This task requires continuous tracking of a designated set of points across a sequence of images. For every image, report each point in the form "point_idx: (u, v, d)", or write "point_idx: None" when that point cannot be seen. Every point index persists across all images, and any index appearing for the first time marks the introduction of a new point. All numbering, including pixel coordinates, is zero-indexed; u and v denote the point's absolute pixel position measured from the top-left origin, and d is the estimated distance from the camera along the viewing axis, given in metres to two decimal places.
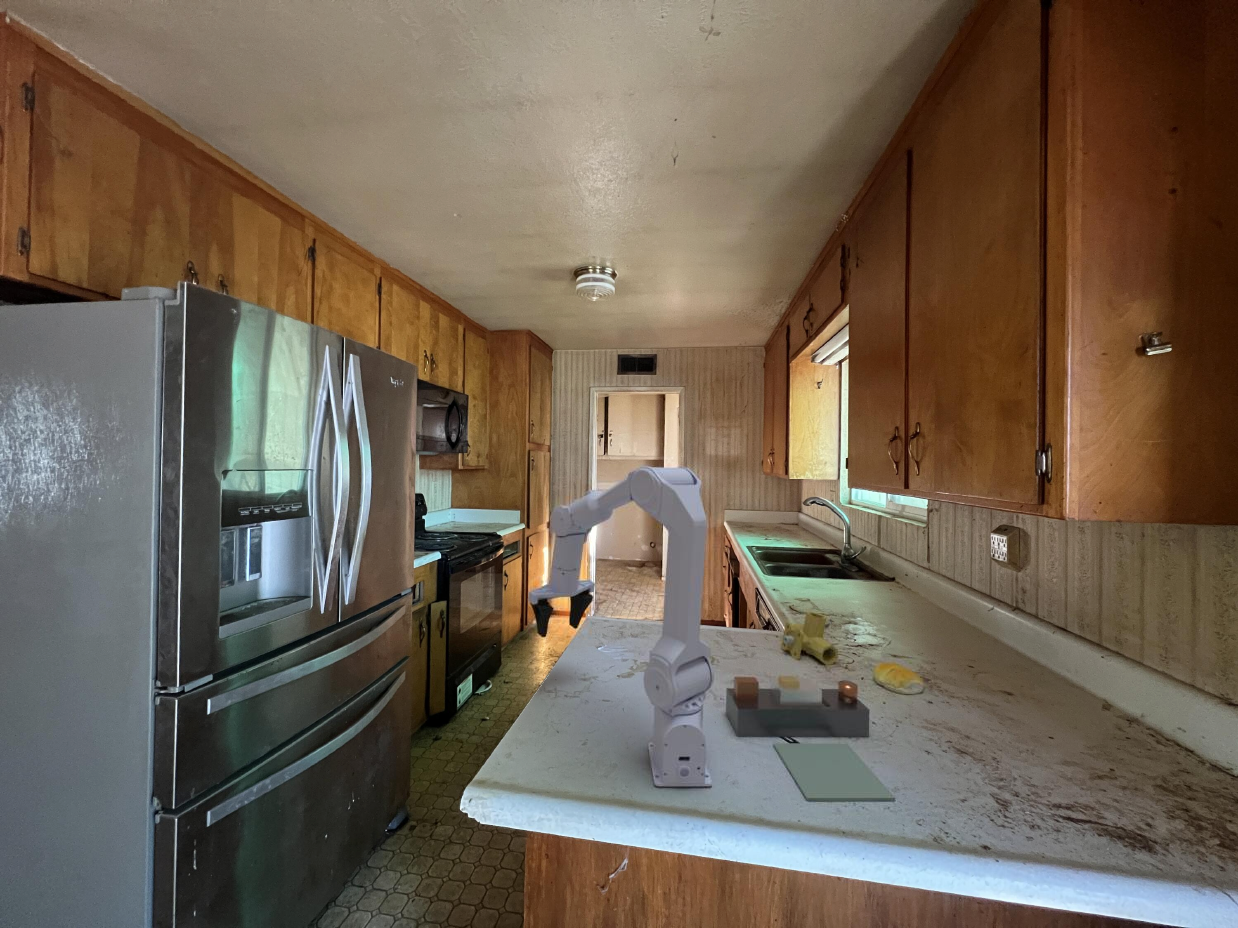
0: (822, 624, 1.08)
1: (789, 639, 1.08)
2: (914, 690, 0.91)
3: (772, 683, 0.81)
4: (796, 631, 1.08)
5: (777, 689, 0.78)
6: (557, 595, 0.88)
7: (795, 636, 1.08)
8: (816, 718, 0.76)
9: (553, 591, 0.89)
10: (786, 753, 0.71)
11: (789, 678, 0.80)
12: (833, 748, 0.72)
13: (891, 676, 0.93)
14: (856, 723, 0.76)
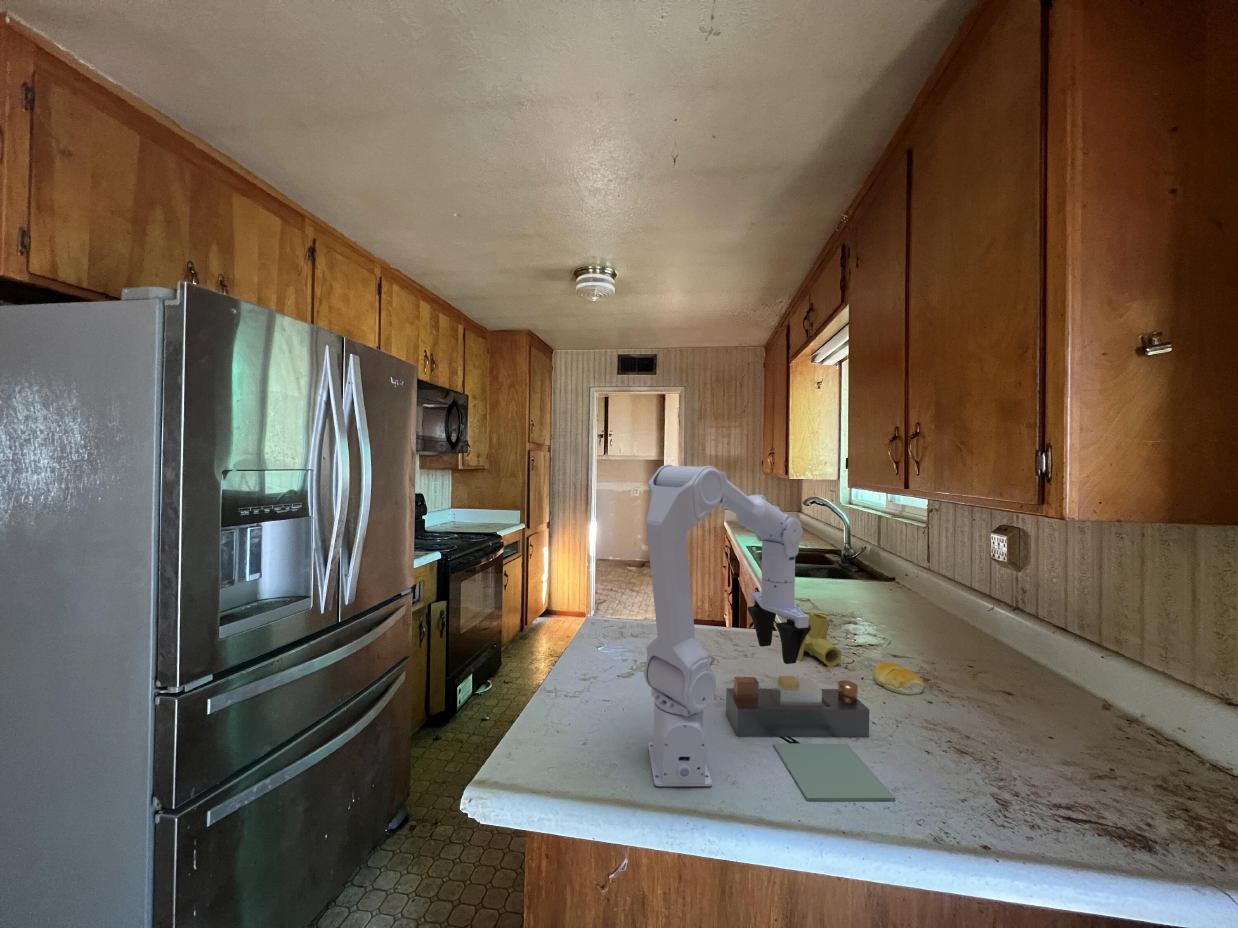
0: (825, 625, 1.08)
1: None
2: (914, 690, 0.91)
3: (772, 683, 0.81)
4: None
5: (777, 689, 0.78)
6: (758, 601, 0.86)
7: None
8: (816, 718, 0.76)
9: None
10: (786, 753, 0.71)
11: (789, 678, 0.80)
12: (833, 748, 0.72)
13: (891, 676, 0.93)
14: (856, 723, 0.76)
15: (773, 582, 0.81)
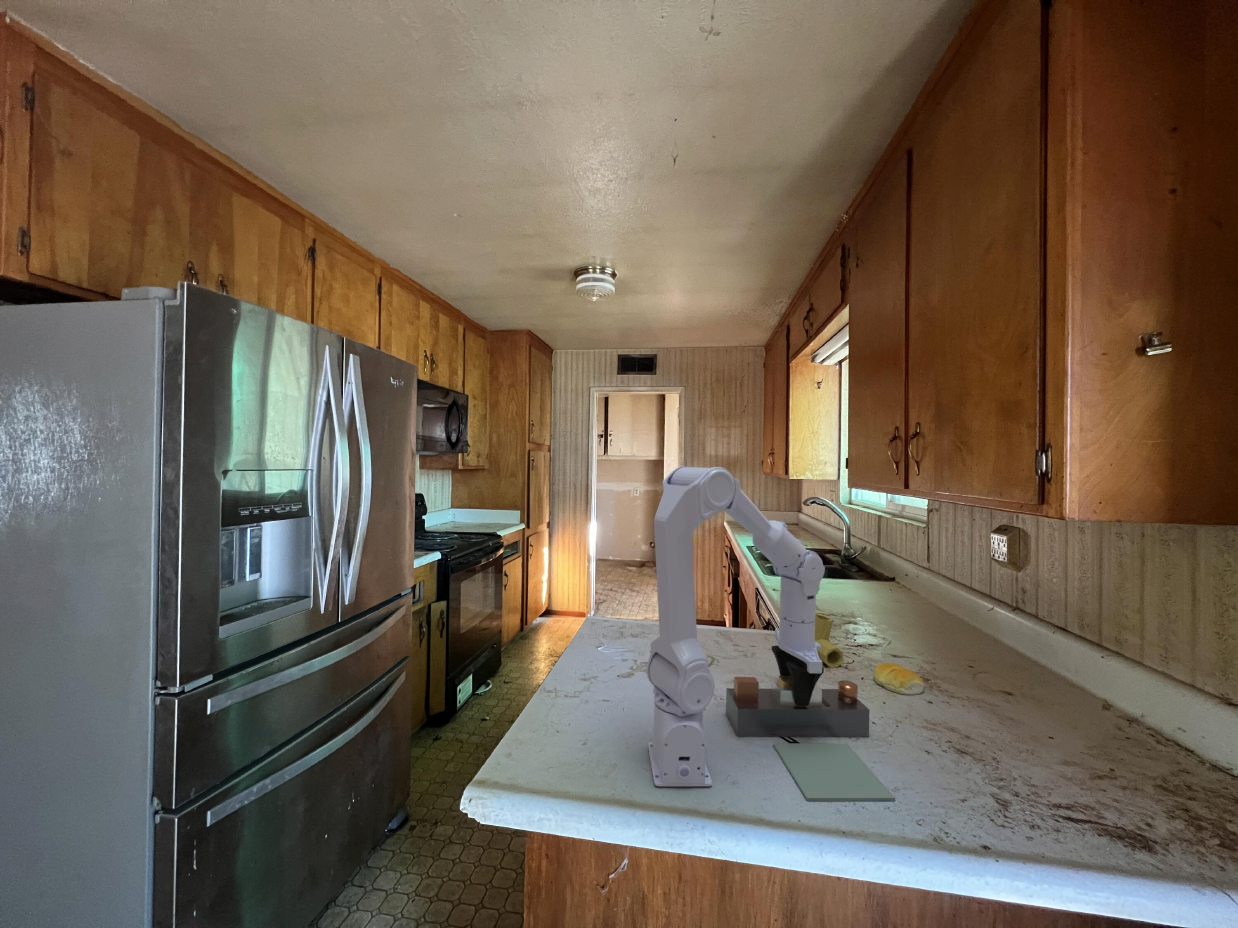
0: (828, 626, 1.07)
1: None
2: (914, 690, 0.91)
3: (772, 683, 0.81)
4: None
5: (777, 689, 0.78)
6: (777, 639, 0.82)
7: None
8: (816, 718, 0.76)
9: None
10: (786, 753, 0.71)
11: (789, 678, 0.80)
12: (833, 748, 0.72)
13: (891, 676, 0.93)
14: (856, 723, 0.76)
15: (789, 621, 0.78)
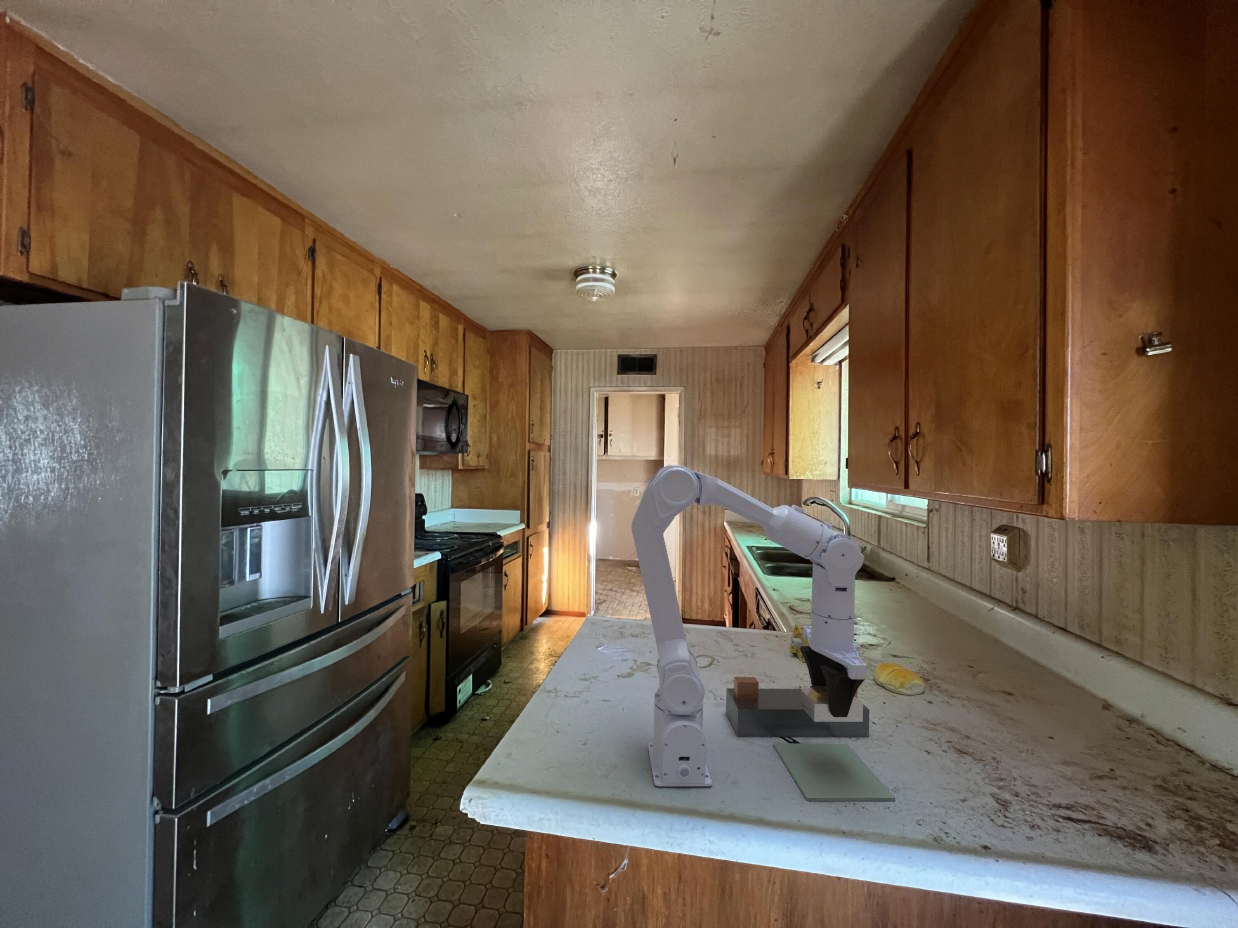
0: None
1: (796, 642, 1.07)
2: (915, 691, 0.91)
3: (803, 694, 0.69)
4: None
5: (810, 702, 0.66)
6: (808, 638, 0.70)
7: (803, 639, 1.07)
8: None
9: None
10: (786, 753, 0.71)
11: (823, 688, 0.68)
12: (833, 748, 0.72)
13: (891, 677, 0.93)
14: (856, 723, 0.76)
15: (824, 617, 0.66)
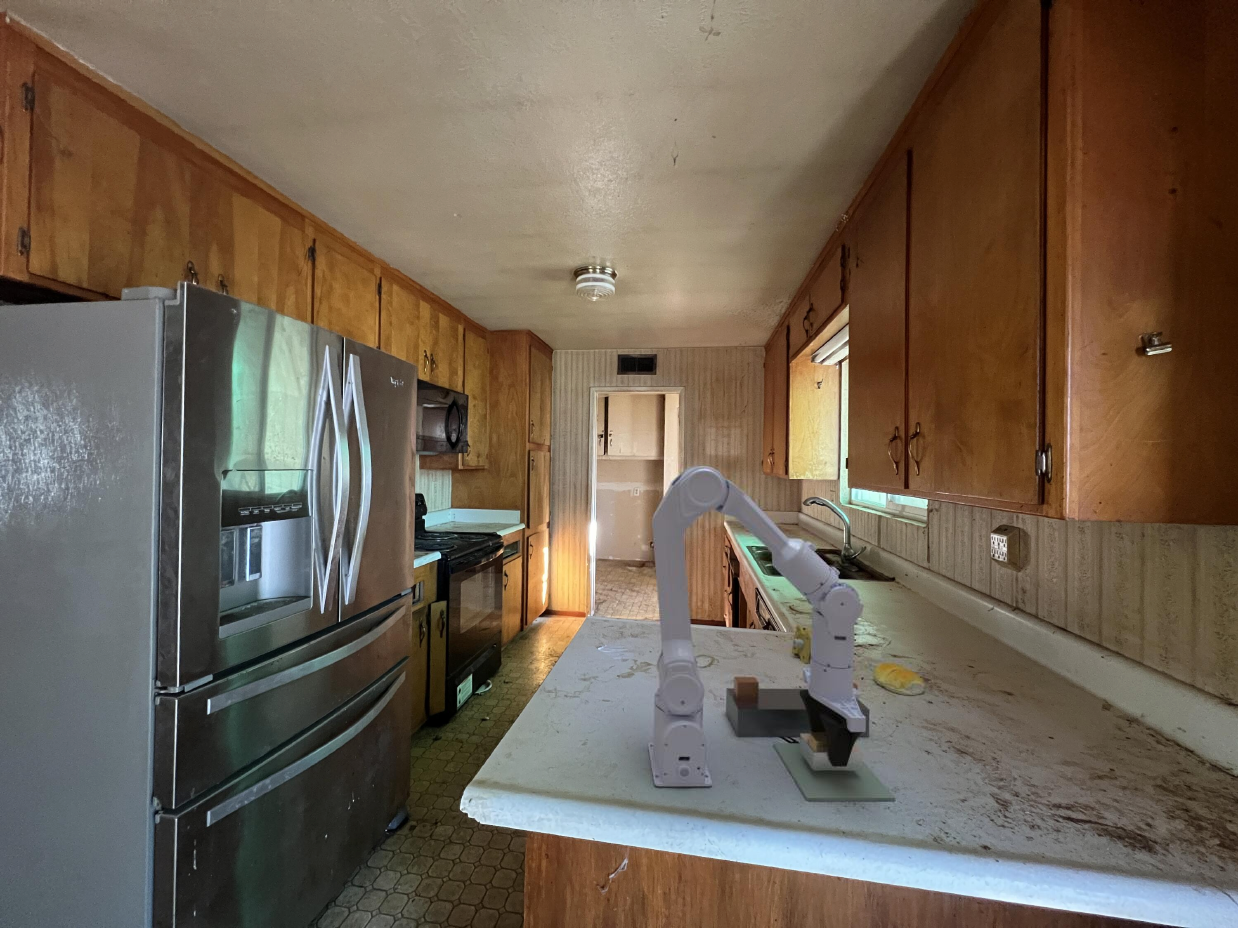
0: None
1: (798, 642, 1.07)
2: (915, 691, 0.91)
3: (802, 741, 0.69)
4: (805, 634, 1.06)
5: (809, 750, 0.66)
6: (807, 683, 0.70)
7: (804, 640, 1.06)
8: None
9: None
10: (786, 753, 0.71)
11: (822, 735, 0.68)
12: None
13: (892, 677, 0.93)
14: None
15: (823, 665, 0.66)
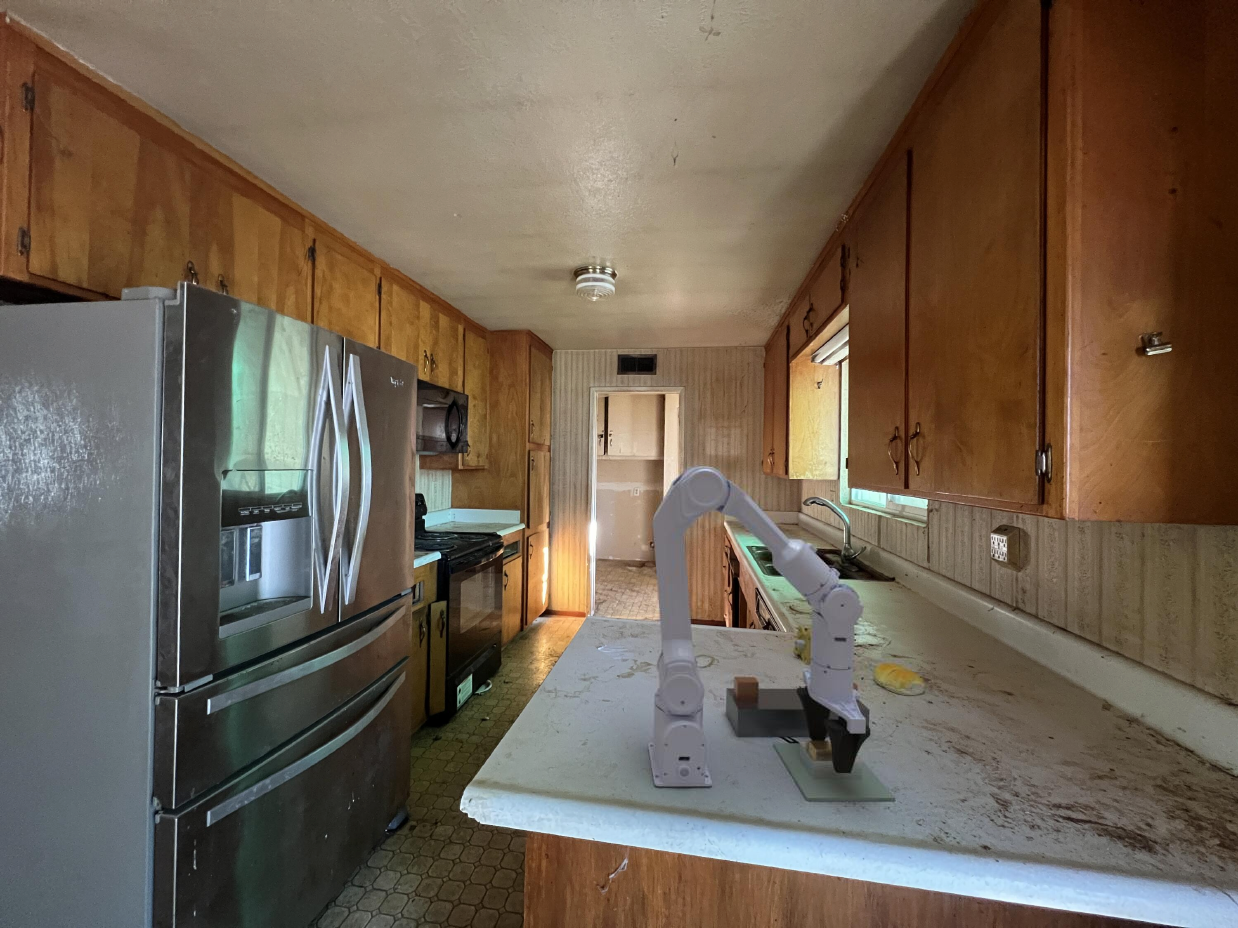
0: None
1: (799, 643, 1.06)
2: (915, 691, 0.91)
3: (802, 749, 0.69)
4: (807, 635, 1.06)
5: (809, 759, 0.66)
6: (807, 684, 0.70)
7: (806, 640, 1.06)
8: None
9: None
10: (786, 753, 0.71)
11: (822, 744, 0.68)
12: None
13: (892, 677, 0.93)
14: None
15: (823, 666, 0.66)
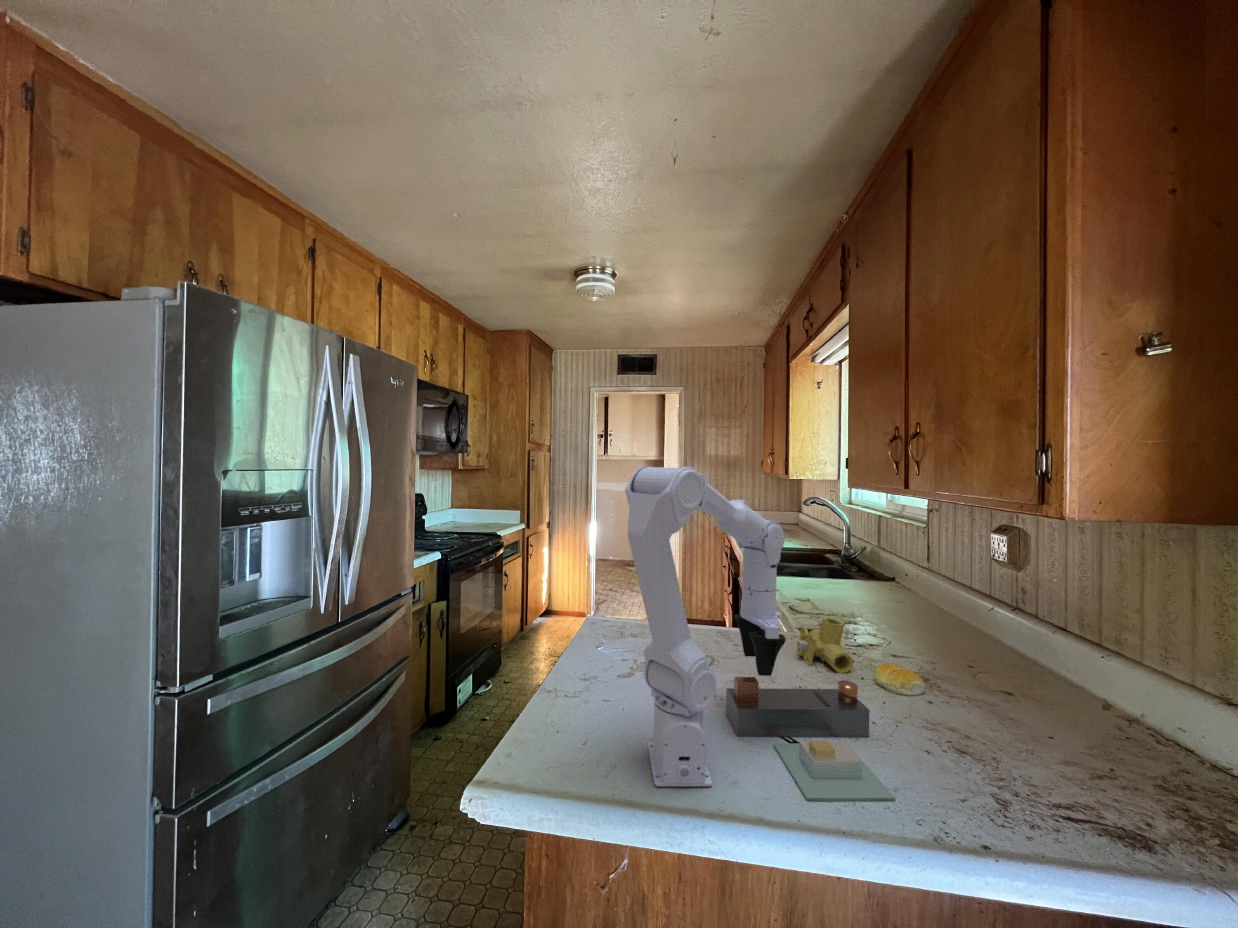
0: (838, 631, 1.04)
1: (802, 644, 1.06)
2: (915, 691, 0.91)
3: (802, 749, 0.69)
4: (809, 636, 1.05)
5: (809, 759, 0.66)
6: (741, 609, 0.84)
7: (808, 641, 1.05)
8: (816, 718, 0.76)
9: None
10: (786, 753, 0.71)
11: (822, 744, 0.68)
12: None
13: (892, 677, 0.93)
14: (856, 723, 0.76)
15: (750, 590, 0.79)
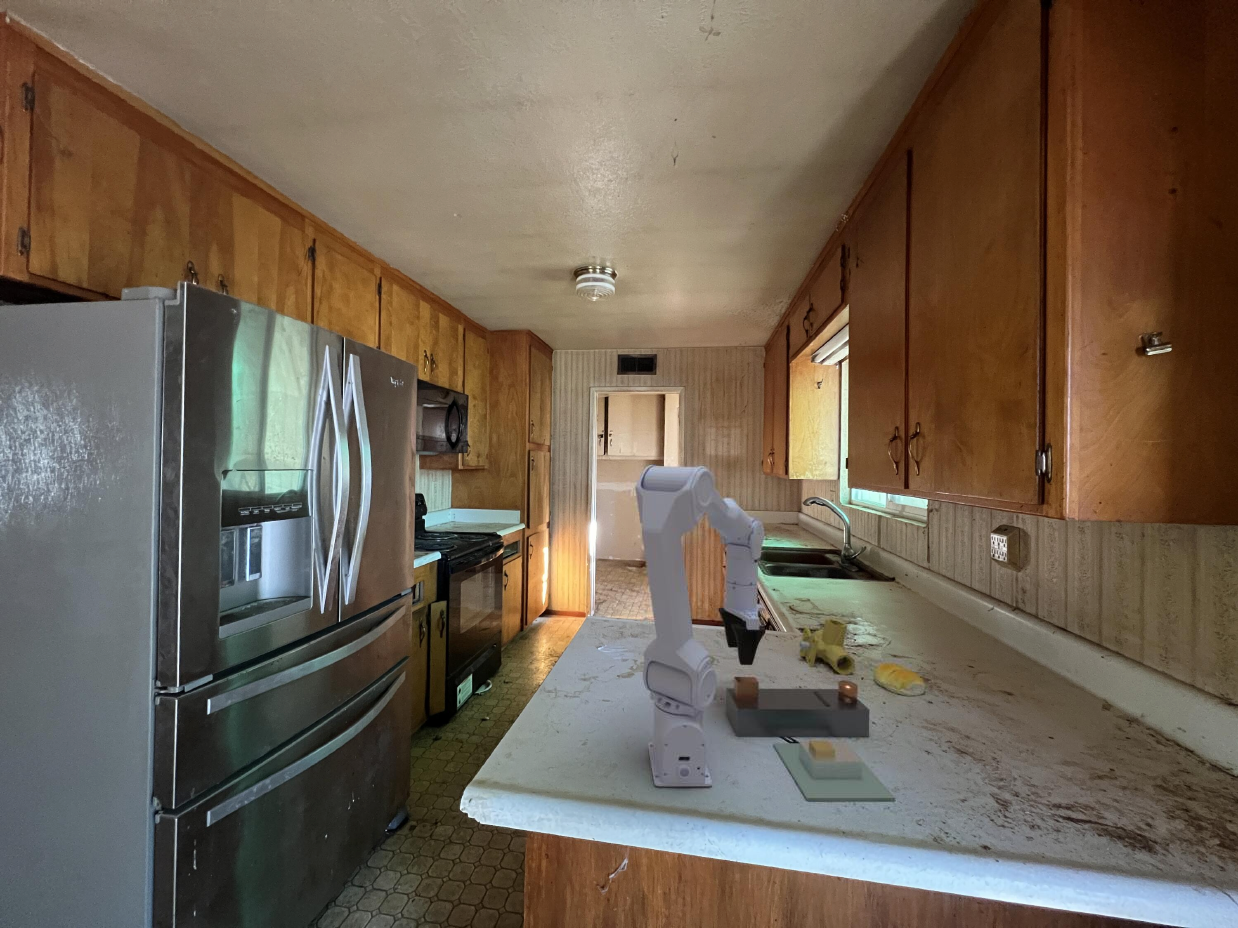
0: (841, 632, 1.03)
1: (804, 645, 1.05)
2: (916, 692, 0.91)
3: (802, 749, 0.69)
4: (811, 637, 1.05)
5: (809, 759, 0.66)
6: None
7: (811, 642, 1.05)
8: (816, 718, 0.76)
9: None
10: (786, 753, 0.71)
11: (822, 744, 0.68)
12: None
13: (892, 677, 0.93)
14: (856, 723, 0.76)
15: (732, 584, 0.83)
